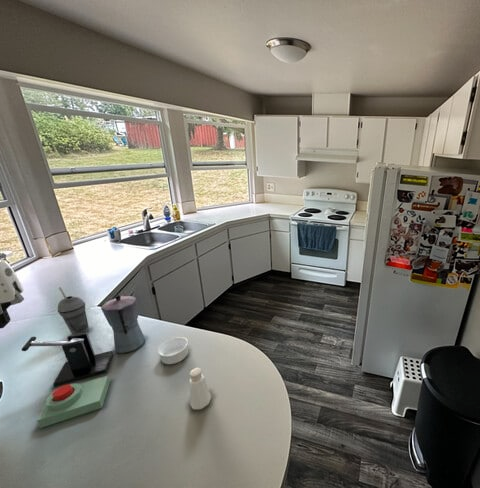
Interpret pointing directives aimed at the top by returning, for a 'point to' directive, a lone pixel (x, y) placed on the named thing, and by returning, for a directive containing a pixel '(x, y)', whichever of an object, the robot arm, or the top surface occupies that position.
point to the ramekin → (173, 350)
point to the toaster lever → (47, 343)
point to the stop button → (62, 392)
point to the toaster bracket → (81, 361)
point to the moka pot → (124, 323)
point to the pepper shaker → (198, 390)
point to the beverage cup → (73, 313)
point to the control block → (75, 402)
